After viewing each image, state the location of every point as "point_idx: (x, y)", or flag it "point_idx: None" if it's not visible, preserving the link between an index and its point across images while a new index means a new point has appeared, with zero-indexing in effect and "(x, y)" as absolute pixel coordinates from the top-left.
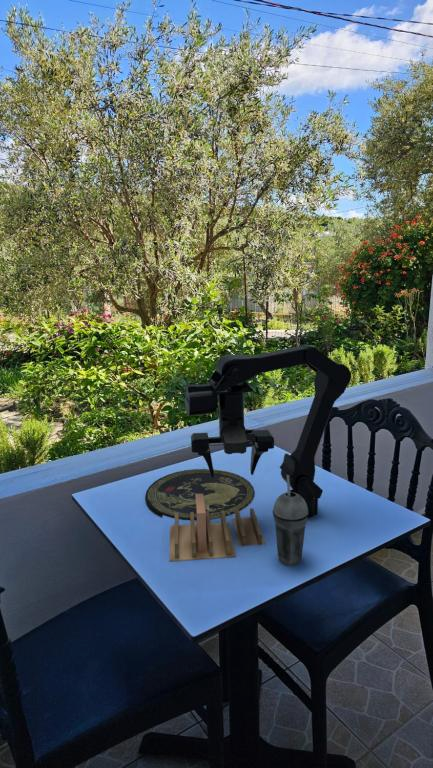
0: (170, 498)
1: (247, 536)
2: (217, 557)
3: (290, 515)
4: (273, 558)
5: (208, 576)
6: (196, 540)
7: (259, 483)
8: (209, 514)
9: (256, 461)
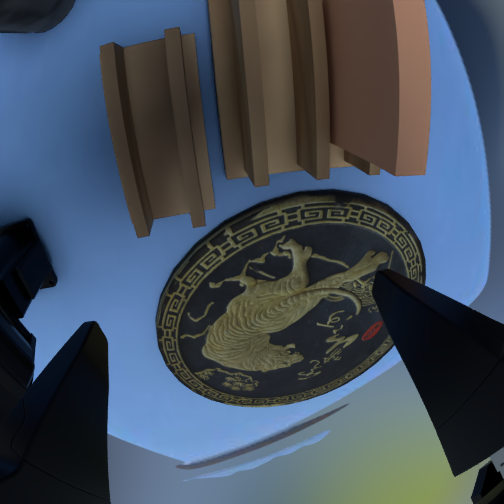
0: None
1: (158, 92)
2: None
3: None
4: (87, 9)
5: None
6: None
7: (157, 381)
8: (293, 223)
9: (22, 409)
